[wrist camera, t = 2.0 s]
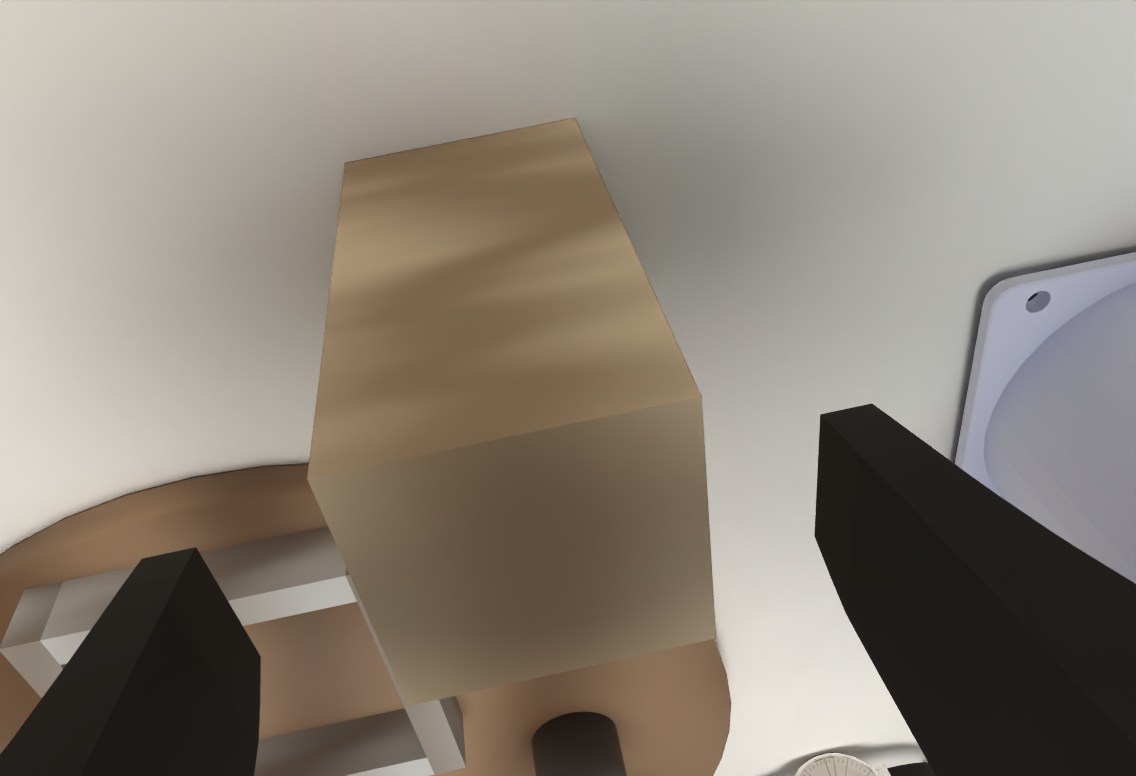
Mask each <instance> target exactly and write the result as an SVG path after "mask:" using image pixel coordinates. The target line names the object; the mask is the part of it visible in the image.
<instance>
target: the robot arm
mask: <svg viewBox="0 0 1136 776" xmlns="http://www.w3.org/2000/svg"><path fill="white" fill-rule="evenodd" d="M1037 292H1038V294H1037V296H1036V297H1034V298H1033V299H1032V300H1031V301H1028V299H1029V298H1030V297H1031V296H1032V295H1033V294H1035V293H1037ZM1027 301H1028V302H1027ZM815 538H816V541H817V543H818V546H819V548H820V551H821V553H822V556H823V558H824V561H825V564H826V566H827V569H828V571H829V574H830V576H831V579H832V581H833V584H834V586H835V588H836V591H837V593H838V596H839V598H840V600H841V603H842V605H843V607H844V610H845V612H846V614H847V616H848V618H849V620H850V622H851V624H852V625H853V627H854V629H855V631H856V633H857V635H858V636H859V638H860V640H861V642H862V644H863V646H864V647H865V649H866V651H867V653H868V655H869V657H870V658H871V660H872V662H873V664H874V666H875V667H876V669H877V671H878V673H879V675H880V676H881V678H882V680H883V682H884V684H885V685H886V687H887V689H888V691H889V693H890V694H891V696H892V698H893V700H894V702H895V703H896V705H897V707H898V709H899V711H900V712H901V714H902V716H903V718H904V719H905V721H906V723H907V725H908V727H909V728H910V730H911V732H912V734H913V736H914V737H915V739H916V741H917V743H918V745H919V746H920V748H921V750H922V752H923V754H924V755H925V757H926V759H927V761H928V763H929V764H930V766H931V768H932V770H933V771H934V773H935V775H936V776H1136V252H1133V253H1128V254H1123V255H1118V256H1113V257H1109V258H1104V259H1099V260H1094V261H1089V262H1084V263H1079V264H1075V265H1070V266H1065V267H1060V268H1055V269H1050V270H1045V271H1040V272H1036V273H1031V274H1026V275H1021V276H1016V277H1011V278H1008V279H1005V280H1003V281H1000V282H999V283H997V284H996V285H995V286H993V287H992V288H991V290H990V291H989V292H988V293H987V294H986V297H985V299H984V302H983V307H982V312H981V318H980V323H979V329H978V335H977V340H976V346H975V352H974V357H973V363H972V369H971V374H970V380H969V386H968V391H967V397H966V403H965V408H964V414H963V420H962V425H961V431H960V437H959V442H958V448H957V454H956V459H955V464H954V463H953V462H951V461H950V460H948V459H947V458H946V457H944V456H943V455H942V454H940V453H939V452H938V451H936V450H935V449H933V448H932V447H931V446H929V445H928V444H927V443H925V442H924V441H923V440H921V439H920V438H918V437H917V436H916V435H914V434H913V433H912V432H910V431H909V430H908V429H906V428H905V427H903V426H902V425H901V424H899V423H898V422H897V421H895V420H894V419H892V418H891V417H890V416H888V415H887V414H886V413H884V412H883V411H881V410H880V409H879V408H877V407H876V406H875V405H873V404H868V405H863V406H858V407H854V408H849V409H844V410H840V411H835V412H830V413H825V414H821V415H820V435H819V456H818V477H817V498H816V519H815ZM260 685H261V656H260V654H259V653H258V651H257V649H256V648H255V646H254V644H253V643H252V641H251V639H250V637H249V636H248V634H247V632H246V631H245V629H244V627H243V626H242V624H241V622H240V620H239V619H238V617H237V615H236V614H235V612H234V610H233V609H232V607H231V605H230V604H229V602H228V600H227V598H226V597H225V595H224V593H223V592H222V590H221V588H220V587H219V585H218V583H217V582H216V580H215V578H214V576H213V575H212V573H211V571H210V570H209V568H208V566H207V565H206V563H205V561H204V560H203V558H202V556H201V554H200V553H199V551H198V549H197V548H196V547H194V548H189V549H185V550H180V551H175V552H171V553H166V554H161V555H157V556H152V557H147V558H142V559H141V561H140V562H139V563H138V565H137V566H136V567H135V569H134V570H133V571H132V573H131V574H130V575H129V577H128V578H127V579H126V581H125V582H124V584H123V585H122V586H121V588H120V589H119V591H118V592H117V593H116V595H115V596H114V598H113V599H112V601H111V602H110V603H109V605H108V606H107V608H106V609H105V610H104V612H103V613H102V615H101V616H100V618H99V619H98V620H97V622H96V623H95V625H94V626H93V628H92V629H91V630H90V632H89V633H88V635H87V636H86V638H85V639H84V640H83V642H82V643H81V645H80V646H79V647H78V649H77V650H76V652H75V653H74V654H73V656H72V657H71V659H70V660H69V662H68V663H67V664H66V666H65V667H64V668H63V670H62V671H61V673H60V674H59V675H58V677H57V678H56V679H55V681H54V682H53V684H52V685H51V686H50V688H49V689H48V691H47V692H46V693H45V695H44V696H43V697H42V699H41V700H40V702H39V703H38V704H37V706H36V707H35V708H34V710H33V711H32V713H31V714H30V715H29V717H28V718H27V719H26V721H25V722H24V724H23V725H22V726H21V728H20V729H19V730H18V732H17V733H16V734H15V736H14V737H13V738H12V740H11V741H10V742H9V744H8V745H7V746H6V748H5V749H4V750H3V751H2V753H1V754H0V776H254V773H255V766H256V759H257V751H258V744H259V723H260Z"/></svg>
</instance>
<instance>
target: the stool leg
mask: <svg viewBox="0 0 1136 776" xmlns="http://www.w3.org/2000/svg"><path fill="white" fill-rule="evenodd" d="M307 480H308V482H309V484H310V487H311V489H312V491H313V493H314V496H315V498H316V500H317V502H318V505H319V507H320V509H321V511H322V514H323V516H324V518H325V520H326V523H327V525H328V527H329V529H330V532H331V534H332V536H333V538H334V541H335V543H336V545H337V547H338V550H339V552H340V554H341V556H342V559H343V561H344V563H345V565H346V568H347V570H348V572H349V574H350V577H351V579H352V581H353V583H354V586H355V588H356V590H357V592H358V595H359V597H360V599H361V601H362V604H363V606H364V608H365V610H366V613H367V615H368V617H369V619H370V622H371V624H372V626H373V628H374V631H375V633H376V635H377V637H378V640H379V642H380V644H381V646H382V649H383V651H384V653H385V655H386V658H387V660H388V662H389V664H390V667H391V669H392V671H393V673H394V676H395V678H396V680H397V682H398V685H399V687H400V689H401V691H402V694H403V696H404V698H405V700H406V703H407V705H408V706H411V705H416V704H420V703H425V702H429V701H434V700H439V699H443V698H448V697H452V696H457V695H461V694H466V693H470V692H475V691H479V690H484V689H488V688H493V687H498V686H502V685H507V684H511V683H516V682H520V681H525V680H529V679H534V678H538V677H543V676H548V675H552V674H557V673H561V672H566V671H570V670H575V669H579V668H584V667H588V666H593V665H598V664H602V663H607V662H611V661H616V660H620V659H625V658H629V657H634V656H638V655H643V654H648V653H652V652H657V651H661V650H666V649H670V648H675V647H679V646H684V645H688V644H693V643H698V642H702V641H707V640H711V639H716V629H715V613H714V596H713V579H712V562H711V546H710V529H709V512H708V495H707V479H706V462H705V445H704V428H703V412H702V396H701V394H700V392H699V390H698V387H697V385H696V383H695V381H694V379H693V376H692V374H691V372H690V370H689V368H688V365H687V363H686V361H685V359H684V357H683V355H682V352H681V350H680V348H679V346H678V344H677V341H676V339H675V337H674V335H673V333H672V330H671V328H670V326H669V324H668V322H667V319H666V317H665V315H664V313H663V311H662V308H661V306H660V304H659V302H658V300H657V298H656V295H655V293H654V291H653V289H652V287H651V284H650V282H649V280H648V278H647V276H646V273H645V271H644V269H643V267H642V265H641V262H640V260H639V258H638V256H637V254H636V251H635V249H634V247H633V245H632V243H631V241H630V238H629V236H628V234H627V232H626V230H625V227H624V225H623V223H622V221H621V219H620V216H619V214H618V212H617V210H616V208H615V205H614V203H613V201H612V199H611V197H610V194H609V192H608V190H607V188H606V186H605V184H604V181H603V179H602V177H601V175H600V173H599V170H598V168H597V166H596V164H595V162H594V159H593V157H592V155H591V153H590V151H589V148H588V146H587V144H586V142H585V140H584V137H583V135H582V133H581V131H580V129H579V127H578V124H577V122H576V120H575V118H572V119H567V120H562V121H557V122H551V123H546V124H541V125H536V126H531V127H526V128H521V129H516V130H511V131H506V132H500V133H495V134H490V135H485V136H480V137H475V138H470V139H465V140H460V141H454V142H449V143H444V144H439V145H434V146H429V147H424V148H419V149H414V150H409V151H403V152H398V153H393V154H388V155H383V156H378V157H373V158H368V159H363V160H358V161H352V162H347V163H345V167H344V176H343V184H342V192H341V201H340V209H339V217H338V226H337V234H336V242H335V251H334V259H333V267H332V276H331V284H330V292H329V301H328V309H327V317H326V326H325V334H324V342H323V351H322V359H321V367H320V376H319V384H318V392H317V401H316V409H315V417H314V426H313V434H312V442H311V451H310V459H309V467H308V476H307Z"/></svg>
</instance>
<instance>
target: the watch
mask: <svg viewBox="0 0 1136 776" xmlns="http://www.w3.org/2000/svg"><path fill="white" fill-rule="evenodd" d="M795 776H936V775H935V773H934V771H933V770H932V768H931V766H930V764H929V763H926V762H924V763H912V764H906V765H900V766H896V767H891V768H886V766H885V765H881V766H879V767H877V768H875V769H874V767H872V766H870V765H868V764H867V763H865V762H863V761H861V760H859V759H858V758H856V757H853V756H849V755H844V754H840V753H827V754H823V755H819V756H815V757H813V758H812V759H810V760H809V761H807V762H806V763H804V764H803V765H802V766H800V768H799V769H798V771H797V773H796V774H795Z"/></svg>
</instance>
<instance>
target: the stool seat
mask: <svg viewBox="0 0 1136 776" xmlns="http://www.w3.org/2000/svg"><path fill="white" fill-rule="evenodd" d="M308 467H309V464H307V465H289V466H272V467H259V468H253V469H247V470H240V471H234V472H227V473H221V474H214V475H208V476H202V477H195V478H190V479H187V480H183V481H179V482H175V483H171V484H167V485H164V486H160V487H156V488H152V489H148V490H144V491H141V492H137V493H133V494H129V495H126V496H123V497H120V498H118V499H115V500H113V501H110V502H107V503H105V504H102V505H100V506H97V507H94V508H92V509H89V510H86V511H84V512H81V513H79V514H76V515H73V516H71V517H68V518H66V519H64V520H62V521H60V522H58V523H56V524H54V525H52V526H50V527H49V528H47V529H45V530H43V531H41V532H39V533H37V534H35V535H33V536H32V537H30V538H28V539H26V540H24V541H22V542H20V543H18V544H16V545H15V546H13V547H11V548H10V549H8V550H7V551H6V552H4V553H3V554H2V555H0V754H1V753H2V751H3V750H4V749H5V748H6V746H7V745H8V744H9V742H10V741H11V740H12V738H13V737H14V736H15V734H16V733H17V732H18V730H19V729H20V728H21V726H22V725H23V724H24V722H25V721H26V719H27V718H28V717H29V715H30V714H31V713H32V711H33V710H34V708H35V707H36V706H37V704H38V703H39V702H40V700H41V699H42V697H43V696H44V695H45V693H46V692H47V691H48V689H49V688H50V686H51V685H52V684H53V682H54V681H55V679H56V678H57V677H58V675H59V674H60V673H61V671H62V670H63V668H64V667H65V666H66V664H67V663H68V662H69V660H70V659H71V657H72V656H73V654H74V653H75V652H76V650H77V649H78V647H79V646H80V645H81V643H82V642H83V640H84V639H85V638H86V636H87V635H88V633H89V632H90V630H91V629H92V628H93V626H94V625H95V623H96V622H97V620H98V619H99V618H100V616H101V615H102V613H103V612H104V610H105V609H106V608H107V606H108V605H109V603H110V602H111V601H112V599H113V598H114V596H115V595H116V593H117V592H118V591H119V589H120V588H121V586H122V585H123V584H124V582H125V581H126V579H127V578H128V577H129V575H130V574H131V573H132V571H133V570H134V569H135V567H136V566H137V565H138V563H139V562H140V561H141V559H142V558H147V557H152V556H157V555H161V554H166V553H171V552H175V551H180V550H185V549H189V548H194V547H196V548H197V549H198V551H199V553H200V554H201V556H202V558H203V560H204V561H205V563H206V565H207V566H208V568H209V570H210V571H211V573H212V575H213V576H214V578H215V580H216V582H217V583H218V585H219V587H220V588H221V590H222V592H223V593H224V595H225V597H226V598H227V600H228V602H229V604H230V605H231V607H232V609H233V610H234V612H235V614H236V615H237V617H238V619H239V620H240V622H241V624H242V626H243V627H244V629H245V631H246V632H247V634H248V636H249V637H250V639H251V641H252V643H253V644H254V646H255V648H256V649H257V651H258V653H259V654H260V656H261V685H260V723H259V744H258V751H257V759H256V766H255V773H254V776H713V775H714V773H715V771H716V769H717V767H718V765H719V763H720V761H721V758H722V755H723V751H724V748H725V744H726V741H727V737H728V734H729V727H730V712H731V699H730V693H729V686H728V680H727V674H726V671H725V668H724V665H723V662H722V659H721V656H720V654H719V651H718V648H717V645H716V642H715V640H714V639H711V640H707V641H702V642H698V643H693V644H688V645H684V646H679V647H675V648H670V649H666V650H661V651H657V652H652V653H648V654H643V655H638V656H634V657H629V658H625V659H620V660H616V661H611V662H607V663H602V664H598V665H593V666H588V667H584V668H579V669H575V670H570V671H566V672H561V673H557V674H552V675H548V676H543V677H538V678H534V679H529V680H525V681H520V682H516V683H511V684H507V685H502V686H498V687H493V688H488V689H484V690H479V691H475V692H470V693H466V694H461V695H457V696H452V697H448V698H443V699H439V700H434V701H429V702H425V703H420V704H416V705H411V706H408V705H407V703H406V700H405V698H404V696H403V694H402V691H401V689H400V687H399V685H398V682H397V680H396V678H395V676H394V673H393V671H392V669H391V667H390V664H389V662H388V660H387V658H386V655H385V653H384V651H383V649H382V646H381V644H380V642H379V640H378V637H377V635H376V633H375V631H374V628H373V626H372V624H371V622H370V619H369V617H368V615H367V613H366V610H365V608H364V606H363V604H362V601H361V599H360V597H359V595H358V592H357V590H356V588H355V586H354V583H353V581H352V579H351V577H350V574H349V572H348V570H347V568H346V565H345V563H344V561H343V559H342V556H341V554H340V552H339V550H338V547H337V545H336V543H335V541H334V538H333V536H332V534H331V532H330V529H329V527H328V525H327V523H326V520H325V518H324V516H323V514H322V511H321V509H320V507H319V505H318V502H317V500H316V498H315V496H314V493H313V491H312V489H311V487H310V484H309V482H308V480H307V476H308Z"/></svg>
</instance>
